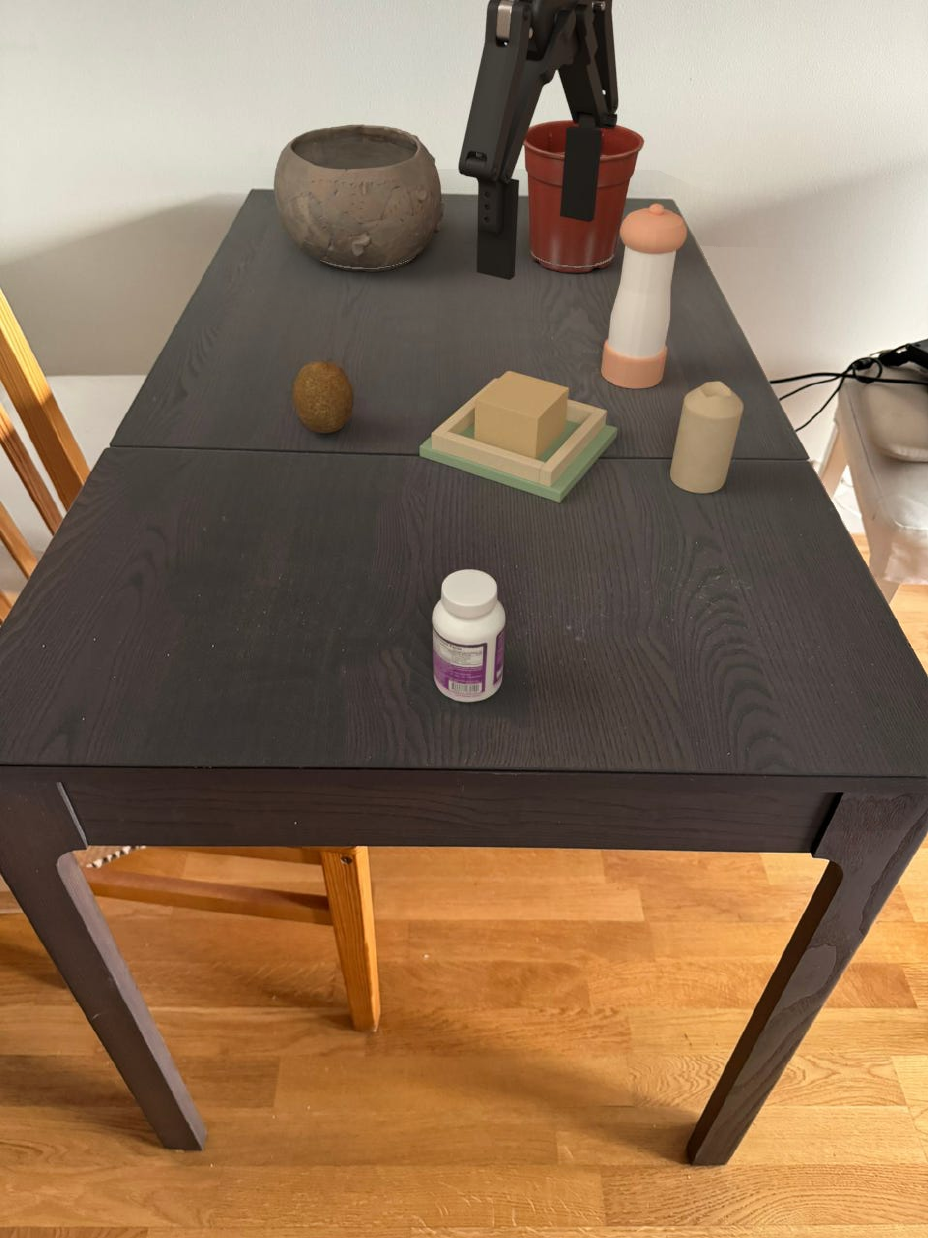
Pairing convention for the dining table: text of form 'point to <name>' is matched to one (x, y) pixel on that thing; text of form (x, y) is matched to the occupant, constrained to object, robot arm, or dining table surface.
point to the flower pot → (545, 175)
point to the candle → (706, 438)
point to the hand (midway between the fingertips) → (538, 244)
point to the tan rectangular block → (521, 414)
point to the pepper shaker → (643, 298)
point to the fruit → (323, 397)
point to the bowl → (359, 195)
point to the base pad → (538, 476)
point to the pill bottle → (468, 637)
